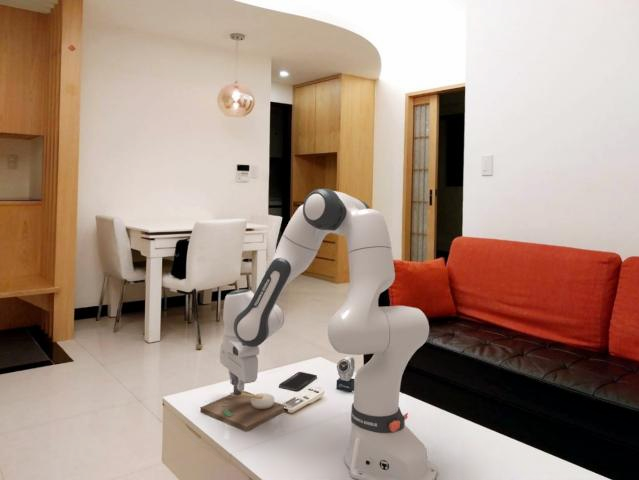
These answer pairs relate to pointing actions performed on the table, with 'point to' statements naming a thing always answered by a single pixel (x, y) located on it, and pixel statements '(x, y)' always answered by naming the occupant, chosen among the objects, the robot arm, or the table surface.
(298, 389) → the phone
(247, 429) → the gauge panel
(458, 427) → the table surface
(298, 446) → the table surface
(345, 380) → the watch
